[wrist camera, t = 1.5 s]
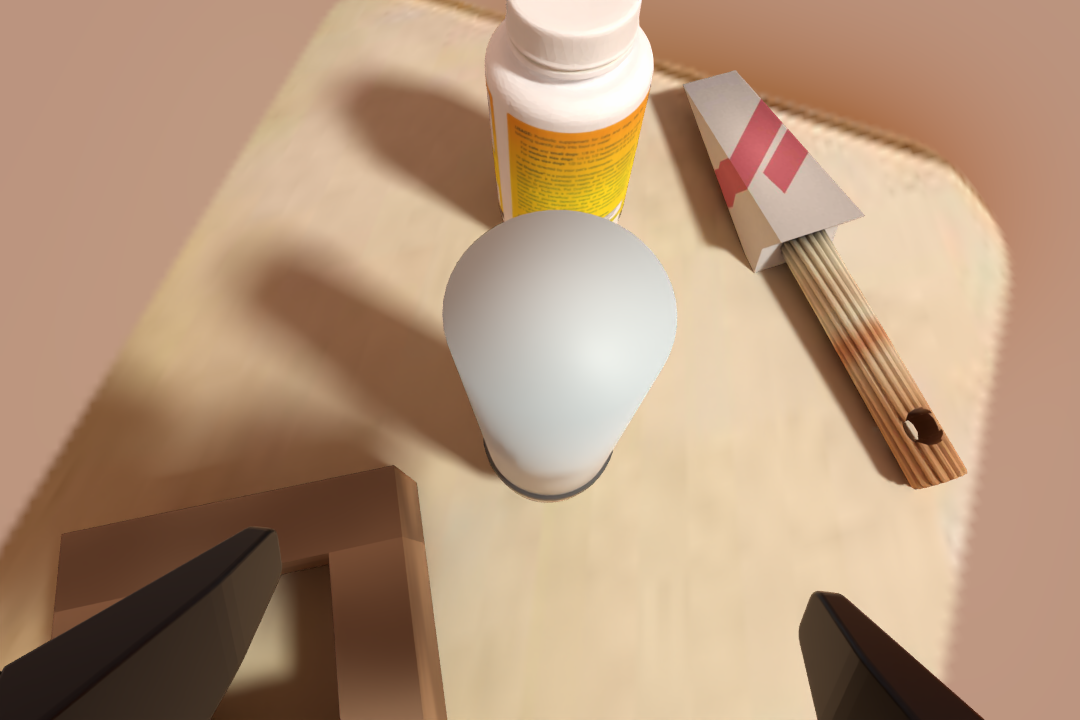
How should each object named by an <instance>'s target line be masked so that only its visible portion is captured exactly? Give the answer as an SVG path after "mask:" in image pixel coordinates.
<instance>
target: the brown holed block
mask: <svg viewBox="0 0 1080 720" xmlns="http://www.w3.org/2000/svg"><path fill="white" fill-rule="evenodd" d="M250 526H258V527H267V528H272V529H274V530H275V531H276V532H277V535H278V540H279V547H280V554H281V561H282V571H281V575H282V574H286V573H291V572H295V571H300V570H304V569H309V568H313V567H318V566H323V565H327V564H329V566H330V580H331V595H332V609H333V624H334V638H335V653H336V667H337V682H338V696H339V711H340V720H447V714H446V707H445V699H444V691H443V683H442V676H441V668H440V660H439V652H438V645H437V637H436V629H435V622H434V614H433V606H432V598H431V591H430V583H429V575H428V567H427V560H426V552H425V544H424V536H423V529H422V521H421V513H420V506H419V498H418V490H417V483H416V482H415V481H414V480H412V479H411V478H410V477H409V476H407V475H406V474H405V473H403V472H402V471H401V470H399V469H398V468H397V467H396V466H394V465H393V466H388V467H383V468H379V469H374V470H369V471H364V472H359V473H354V474H350V475H345V476H340V477H335V478H330V479H325V480H321V481H316V482H311V483H306V484H301V485H296V486H292V487H287V488H282V489H277V490H272V491H267V492H263V493H258V494H253V495H248V496H243V497H238V498H234V499H229V500H224V501H219V502H214V503H209V504H205V505H200V506H195V507H190V508H185V509H180V510H176V511H171V512H166V513H161V514H156V515H151V516H147V517H142V518H137V519H132V520H127V521H122V522H118V523H113V524H108V525H103V526H98V527H93V528H89V529H84V530H79V531H74V532H69V533H64V534H62V536H61V546H60V557H59V567H58V577H57V587H56V597H55V607H54V617H53V628H52V638H51V640H52V639H54V638H55V637H57V636H59V635H61V634H62V633H64V632H66V631H68V630H69V629H71V628H73V627H75V626H76V625H78V624H80V623H82V622H83V621H85V620H87V619H89V618H90V617H92V616H94V615H96V614H97V613H99V612H101V611H102V610H104V609H106V608H108V607H109V606H111V605H113V604H115V603H116V602H118V601H120V600H122V599H123V598H125V597H127V596H129V595H130V594H132V593H134V592H136V591H137V590H139V589H141V588H143V587H144V586H146V585H148V584H150V583H151V582H153V581H155V580H157V579H158V578H160V577H162V576H164V575H165V574H167V573H169V572H170V571H172V570H174V569H176V568H177V567H179V566H181V565H183V564H184V563H186V562H188V561H190V560H191V559H193V558H195V557H197V556H198V555H200V554H202V553H204V552H205V551H207V550H209V549H211V548H212V547H214V546H216V545H218V544H219V543H221V542H223V541H225V540H226V539H228V538H230V537H231V536H233V535H235V534H237V533H238V532H240V531H242V530H244V529H246V528H248V527H250Z"/></svg>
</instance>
